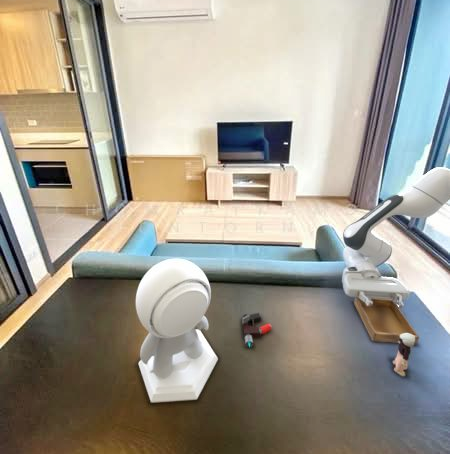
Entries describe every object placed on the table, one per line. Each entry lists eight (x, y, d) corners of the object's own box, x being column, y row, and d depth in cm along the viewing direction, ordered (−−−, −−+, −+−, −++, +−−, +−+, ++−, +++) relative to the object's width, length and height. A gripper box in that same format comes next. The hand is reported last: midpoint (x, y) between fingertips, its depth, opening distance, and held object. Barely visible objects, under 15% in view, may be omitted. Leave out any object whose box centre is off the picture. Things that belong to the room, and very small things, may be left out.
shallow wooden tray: (390, 306, 92) (393, 299, 91) (416, 345, 78) (419, 337, 77) (353, 303, 93) (355, 296, 92) (372, 341, 79) (374, 333, 78)
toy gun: (244, 350, 76) (244, 339, 74) (240, 317, 87) (240, 307, 86) (275, 349, 76) (276, 338, 75) (267, 316, 88) (268, 306, 86)
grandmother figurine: (411, 382, 68) (424, 349, 63) (395, 378, 69) (407, 346, 64) (400, 355, 75) (412, 324, 70) (386, 352, 76) (396, 321, 71)
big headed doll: (158, 427, 59) (141, 315, 46) (133, 348, 76) (115, 253, 64) (228, 377, 69) (230, 274, 56) (191, 318, 87) (186, 231, 74)
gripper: (394, 285, 92) (417, 315, 80) (337, 281, 94) (351, 310, 81) (398, 271, 90) (423, 300, 77) (340, 267, 92) (354, 295, 79)
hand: (385, 305), depth 79 cm, fingers open, 8 cm apart
